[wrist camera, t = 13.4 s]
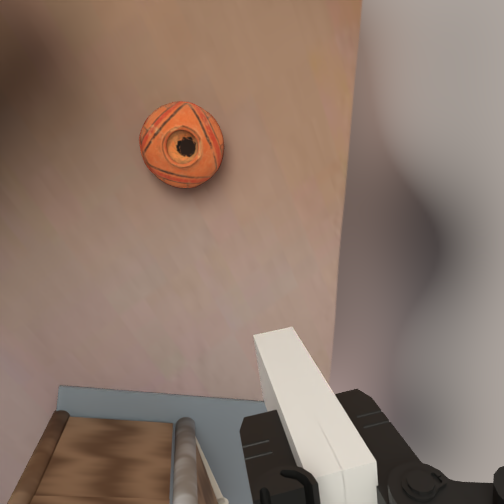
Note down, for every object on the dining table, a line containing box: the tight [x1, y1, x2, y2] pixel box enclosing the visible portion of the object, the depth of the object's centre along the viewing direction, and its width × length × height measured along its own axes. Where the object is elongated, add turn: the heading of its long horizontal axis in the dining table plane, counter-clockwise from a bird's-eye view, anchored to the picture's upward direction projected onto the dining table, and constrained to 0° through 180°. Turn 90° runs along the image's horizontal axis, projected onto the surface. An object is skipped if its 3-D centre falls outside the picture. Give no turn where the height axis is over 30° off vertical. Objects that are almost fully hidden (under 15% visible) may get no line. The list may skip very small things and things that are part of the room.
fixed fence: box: [7, 410, 198, 504], centre depth 39 cm, size 17×3×15 cm, turn 78°
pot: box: [139, 102, 224, 188], centre depth 37 cm, size 8×8×7 cm
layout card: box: [56, 385, 268, 504], centre depth 49 cm, size 30×18×1 cm, turn 78°
